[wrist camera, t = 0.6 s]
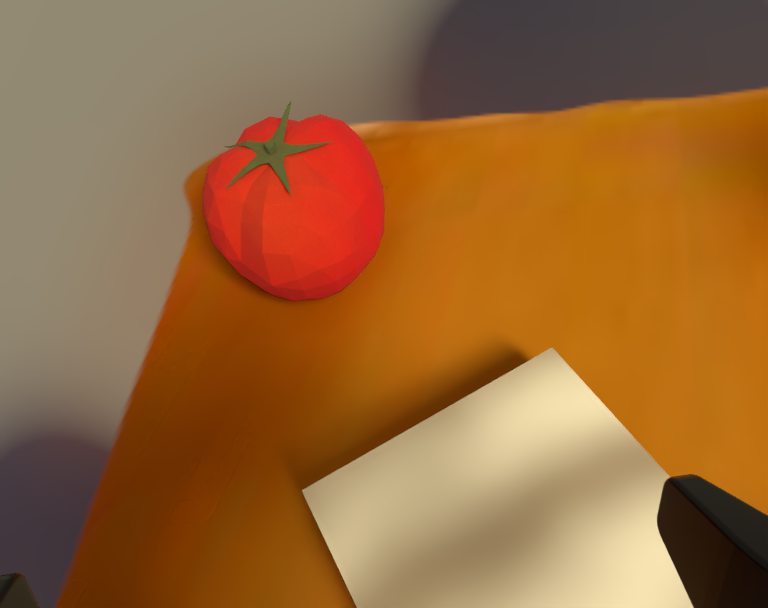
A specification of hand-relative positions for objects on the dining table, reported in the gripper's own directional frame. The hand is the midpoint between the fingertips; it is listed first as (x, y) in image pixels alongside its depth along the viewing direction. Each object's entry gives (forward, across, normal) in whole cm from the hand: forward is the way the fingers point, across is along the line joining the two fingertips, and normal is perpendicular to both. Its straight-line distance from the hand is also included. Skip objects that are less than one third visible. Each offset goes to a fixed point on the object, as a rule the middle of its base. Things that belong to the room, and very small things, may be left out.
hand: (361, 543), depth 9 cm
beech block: (+9, -6, +13) cm, 17 cm away
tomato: (+26, 0, +7) cm, 27 cm away
